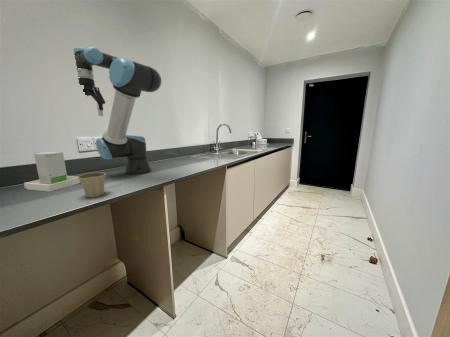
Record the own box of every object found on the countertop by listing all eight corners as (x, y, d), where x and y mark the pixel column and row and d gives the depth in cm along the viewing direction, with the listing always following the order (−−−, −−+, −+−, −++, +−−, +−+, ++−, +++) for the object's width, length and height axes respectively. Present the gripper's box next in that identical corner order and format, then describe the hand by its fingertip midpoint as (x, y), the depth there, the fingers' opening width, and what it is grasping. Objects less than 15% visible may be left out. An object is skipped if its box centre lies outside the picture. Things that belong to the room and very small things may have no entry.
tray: (82, 182, 93) (81, 176, 92) (49, 191, 79) (48, 185, 78) (60, 180, 96) (59, 175, 95) (25, 189, 82) (23, 183, 81)
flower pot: (87, 201, 69) (83, 179, 67) (76, 196, 74) (73, 175, 72) (112, 193, 77) (110, 174, 75) (102, 189, 81) (99, 171, 80)
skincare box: (50, 187, 82) (43, 153, 79) (39, 186, 84) (32, 153, 80) (69, 182, 90) (63, 151, 87) (59, 181, 92) (53, 151, 88)
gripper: (62, 78, 104) (69, 116, 109) (98, 75, 99) (103, 115, 103) (75, 81, 111) (81, 116, 116) (109, 79, 106) (113, 116, 111)
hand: (91, 116), depth 110 cm, fingers open, 13 cm apart
